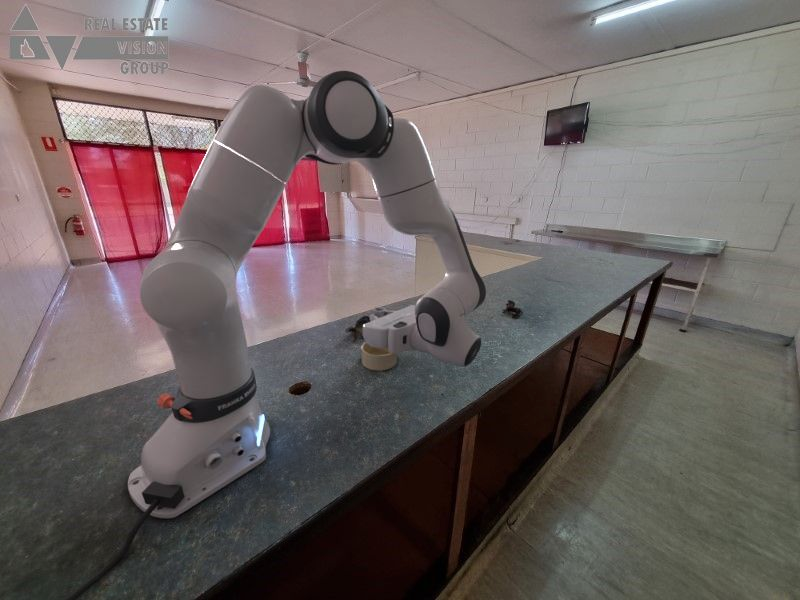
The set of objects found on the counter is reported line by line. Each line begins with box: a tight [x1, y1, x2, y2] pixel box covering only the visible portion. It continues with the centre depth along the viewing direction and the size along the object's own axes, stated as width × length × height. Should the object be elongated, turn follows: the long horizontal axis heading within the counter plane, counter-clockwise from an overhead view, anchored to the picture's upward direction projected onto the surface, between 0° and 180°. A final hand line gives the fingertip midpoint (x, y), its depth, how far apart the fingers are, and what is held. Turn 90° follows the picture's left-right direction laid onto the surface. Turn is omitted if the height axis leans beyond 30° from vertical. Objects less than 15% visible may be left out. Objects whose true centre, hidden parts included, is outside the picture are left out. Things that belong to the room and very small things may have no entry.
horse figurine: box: [490, 299, 524, 319], centre depth 123 cm, size 9×4×15 cm
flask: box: [364, 306, 387, 348], centre depth 86 cm, size 7×7×10 cm
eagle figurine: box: [345, 315, 371, 343], centre depth 103 cm, size 8×7×9 cm
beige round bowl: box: [360, 342, 398, 372], centre depth 89 cm, size 10×10×4 cm
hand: (376, 314), depth 86 cm, fingers closed on flask, 2 cm apart
